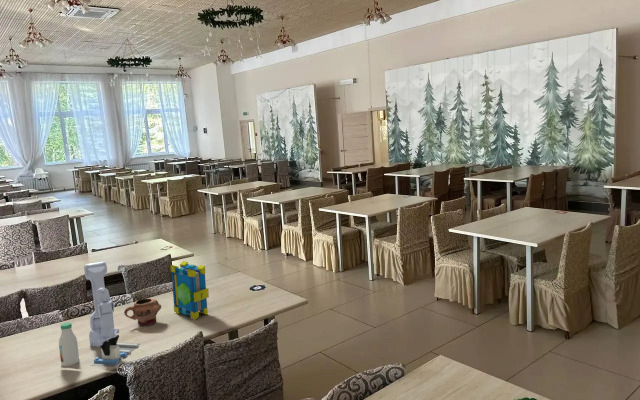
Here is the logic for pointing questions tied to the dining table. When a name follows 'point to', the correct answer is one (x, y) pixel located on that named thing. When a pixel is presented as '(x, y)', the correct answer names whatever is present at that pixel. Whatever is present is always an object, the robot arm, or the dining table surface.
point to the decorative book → (189, 289)
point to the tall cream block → (112, 353)
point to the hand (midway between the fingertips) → (110, 353)
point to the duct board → (124, 351)
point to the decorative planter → (144, 311)
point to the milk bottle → (68, 346)
